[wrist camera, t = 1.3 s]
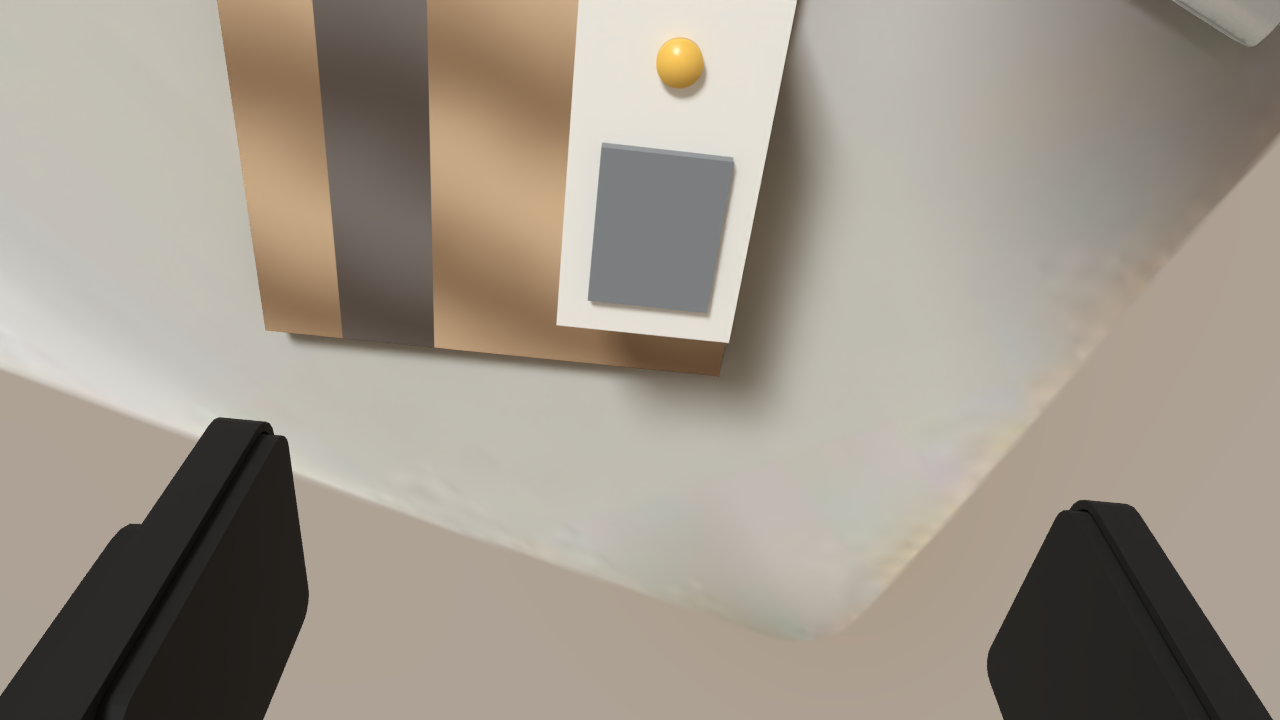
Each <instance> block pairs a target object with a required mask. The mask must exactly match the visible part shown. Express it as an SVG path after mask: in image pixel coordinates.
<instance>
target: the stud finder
mask: <svg viewBox="0 0 1280 720" xmlns="http://www.w3.org/2000/svg"><path fill="white" fill-rule="evenodd" d="M796 3H797V0H579V2H578V17H577V31H576V46H575V60H574V75H573V89H572V104H571V119H570V133H569V148H568V162H567V177H566V192H565V206H564V221H563V235H562V250H561V264H560V279H559V294H558V308H557V323H556V325H560V326H569V327H579V328H589V329H598V330H608V331H618V332H627V333H637V334H647V335H657V336H666V337H676V338H686V339H695V340H705V341H715V342H724V343H729V340H730V335H731V330H732V325H733V320H734V315H735V310H736V305H737V300H738V295H739V290H740V285H741V280H742V275H743V270H744V265H745V260H746V255H747V250H748V245H749V240H750V235H751V230H752V225H753V220H754V214H755V209H756V204H757V199H758V194H759V189H760V184H761V179H762V174H763V169H764V164H765V159H766V154H767V149H768V144H769V139H770V134H771V129H772V124H773V119H774V114H775V109H776V104H777V99H778V94H779V89H780V84H781V79H782V74H783V69H784V64H785V59H786V54H787V49H788V44H789V39H790V33H791V28H792V23H793V18H794V13H795V8H796Z"/></svg>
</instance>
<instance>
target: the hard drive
mask: <svg viewBox="0 0 1280 720" xmlns="http://www.w3.org/2000/svg"><path fill="white" fill-rule="evenodd" d="M1171 1H1173V2H1175V3H1176V4H1178V5H1179V6H1181V7H1182V8H1184V9H1186V10H1187V11H1189V12H1190V13H1192V14H1193V15H1195V16H1197V17H1198V18H1200V19H1201V20H1203V21H1204V22H1206V23H1208V24H1209V25H1211V26H1212V27H1214V28H1215V29H1217V30H1219V31H1220V32H1222V33H1223V34H1225V35H1226V36H1228V37H1230V38H1231V39H1233V40H1235V41H1237V42H1239V43H1241V44H1242V45H1244V46H1248V47H1254V46H1255V45H1257V44H1258V43H1260V42H1261V41H1262V40H1263V39H1265V38H1266V37H1267V36H1268V35H1269V34H1270V33H1271V32H1272V31H1273V30H1274V28H1275V27H1276V26H1277V25H1278V24H1279V23H1280V0H1171Z"/></svg>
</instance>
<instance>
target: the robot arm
mask: <svg viewBox="0 0 1280 720" xmlns="http://www.w3.org/2000/svg"><path fill="white" fill-rule="evenodd" d="M308 598H309V590H308V582H307V575H306V568H305V561H304V554H303V546H302V539H301V532H300V525H299V518H298V510H297V503H296V496H295V489H294V482H293V474H292V467H291V460H290V452H289V445H288V441H287V439H286V437H284V436H279V435H274V432H273V428H272V427H271V425H270V423H267V422H263V421H252V420H242V419H231V418H221V417H219V418H217V419H214V420H213V421H212V423H211V424H210V425H209V426H208V428H207V429H206V430H205V432H204V433H203V435H202V436H201V438H200V439H199V441H198V442H197V444H196V445H195V447H194V448H193V450H192V451H191V453H190V454H189V455H188V457H187V458H186V460H185V461H184V463H183V464H182V466H181V467H180V469H179V470H178V472H177V473H176V474H175V476H174V477H173V479H172V480H171V482H170V483H169V485H168V486H167V488H166V489H165V491H164V492H163V494H162V495H161V496H160V498H159V499H158V501H157V502H156V504H155V505H154V507H153V508H152V510H151V511H150V513H149V514H148V515H147V517H146V519H145V520H144V521H143V523H142V524H129V525H127V526H125V527H124V528H122V529H120V530H119V532H118V533H117V534H116V535H115V536H114V537H113V538H112V539H111V541H110V542H109V543H108V545H107V546H106V548H105V549H104V551H103V552H102V553H101V555H100V556H99V558H98V559H97V560H96V562H95V563H94V565H93V566H92V568H91V569H90V570H89V572H88V573H87V574H86V576H85V577H84V579H83V580H82V581H81V583H80V584H79V586H78V587H77V589H76V590H75V591H74V593H73V594H72V596H71V597H70V598H69V600H68V601H67V603H66V604H65V605H64V607H63V608H62V610H61V611H60V613H59V614H58V615H57V617H56V618H55V620H54V621H53V622H52V624H51V625H50V627H49V628H48V630H47V631H46V632H45V634H44V635H43V637H42V638H41V639H40V641H39V642H38V644H37V645H36V646H35V648H34V649H33V651H32V652H31V654H30V655H29V656H28V658H27V659H26V661H25V662H24V663H23V665H22V666H21V668H20V669H19V670H18V672H17V673H16V675H15V676H14V678H13V679H12V680H11V682H10V683H9V684H8V686H7V688H6V689H5V690H4V692H3V693H2V694H1V696H0V720H263V718H264V716H265V714H266V711H267V709H268V707H269V704H270V702H271V699H272V697H273V694H274V692H275V690H276V687H277V685H278V682H279V680H280V677H281V675H282V673H283V670H284V668H285V665H286V663H287V660H288V658H289V656H290V653H291V651H292V649H293V646H294V644H295V641H296V639H297V637H298V634H299V632H300V629H301V627H302V624H303V622H304V619H305V615H306V612H307V606H308ZM987 670H988V677H989V680H990V683H991V686H992V689H993V691H994V694H995V697H996V700H997V702H998V705H999V708H1000V711H1001V713H1002V716H1003V719H1004V720H1273V719H1272V718H1271V716H1270V715H1269V713H1268V711H1267V710H1266V708H1265V707H1264V705H1263V704H1262V702H1261V701H1260V699H1259V698H1258V696H1257V695H1256V693H1255V691H1254V690H1253V689H1252V687H1251V685H1250V684H1249V682H1248V681H1247V679H1246V678H1245V676H1244V674H1243V673H1242V671H1241V670H1240V668H1239V667H1238V665H1237V664H1236V662H1235V661H1234V659H1233V658H1232V656H1231V655H1230V653H1229V651H1228V650H1227V648H1226V647H1225V645H1224V644H1223V642H1222V641H1221V639H1220V637H1219V636H1218V634H1217V633H1216V631H1215V630H1214V628H1213V627H1212V625H1211V624H1210V622H1209V621H1208V619H1207V617H1206V616H1205V614H1204V613H1203V611H1202V610H1201V608H1200V607H1199V605H1198V604H1197V602H1196V601H1195V599H1194V597H1193V596H1192V594H1191V593H1190V591H1189V590H1188V589H1187V587H1186V585H1185V584H1184V582H1183V580H1182V579H1181V578H1180V576H1179V574H1178V573H1177V571H1176V570H1175V568H1174V567H1173V565H1172V564H1171V562H1170V561H1169V559H1168V558H1167V556H1166V554H1165V553H1164V551H1163V550H1162V548H1161V547H1160V545H1159V544H1158V542H1157V540H1156V539H1155V537H1154V536H1153V534H1152V533H1151V531H1150V530H1149V528H1148V527H1147V525H1146V523H1145V522H1144V521H1143V519H1142V517H1141V516H1140V514H1139V513H1138V512H1137V511H1136V509H1135V508H1134V507H1132V506H1130V505H1128V504H1121V503H1110V502H1100V501H1090V500H1079V501H1077V502H1076V503H1074V504H1073V506H1072V507H1071V508H1070V510H1063V511H1062V512H1060V513H1059V514H1058V515H1057V517H1056V518H1055V520H1054V522H1053V524H1052V527H1051V528H1050V531H1049V533H1048V534H1047V536H1046V539H1045V540H1044V542H1043V544H1042V546H1041V548H1040V550H1039V552H1038V554H1037V556H1036V558H1035V560H1034V562H1033V564H1032V567H1031V568H1030V570H1029V572H1028V574H1027V576H1026V578H1025V580H1024V582H1023V584H1022V586H1021V588H1020V590H1019V592H1018V594H1017V596H1016V598H1015V600H1014V602H1013V604H1012V606H1011V608H1010V610H1009V612H1008V614H1007V616H1006V618H1005V620H1004V622H1003V624H1002V626H1001V628H1000V630H999V632H998V634H997V636H996V638H995V640H994V642H993V644H992V646H991V648H990V650H989V653H988V659H987Z"/></svg>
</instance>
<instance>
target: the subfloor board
mask: <svg viewBox="0 0 1280 720" xmlns="http://www.w3.org/2000/svg"><path fill="white" fill-rule="evenodd" d="M578 2H579V0H217V3H218V10H219V17H220V23H221V30H222V37H223V44H224V51H225V57H226V64H227V71H228V78H229V85H230V91H231V98H232V105H233V112H234V119H235V125H236V132H237V139H238V146H239V153H240V159H241V166H242V173H243V180H244V187H245V193H246V200H247V207H248V214H249V221H250V227H251V234H252V241H253V248H254V255H255V261H256V268H257V275H258V282H259V289H260V295H261V302H262V309H263V316H264V323H265V330H267V331H277V332H287V333H296V334H306V335H316V336H326V337H336V338H346V339H356V340H366V341H375V342H385V343H395V344H405V345H415V346H425V347H435V348H445V349H454V350H464V351H474V352H484V353H494V354H504V355H514V356H524V357H533V358H543V359H553V360H563V361H573V362H583V363H593V364H603V365H612V366H622V367H632V368H642V369H652V370H662V371H672V372H682V373H691V374H701V375H711V376H719V374H720V369H721V364H722V359H723V354H724V348H725V343H724V342H715V341H705V340H695V339H686V338H676V337H666V336H657V335H647V334H637V333H627V332H618V331H608V330H598V329H589V328H579V327H569V326H560V325H556V323H557V308H558V294H559V279H560V264H561V250H562V235H563V221H564V206H565V192H566V177H567V162H568V148H569V133H570V119H571V104H572V89H573V75H574V60H575V46H576V31H577V17H578Z"/></svg>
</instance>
